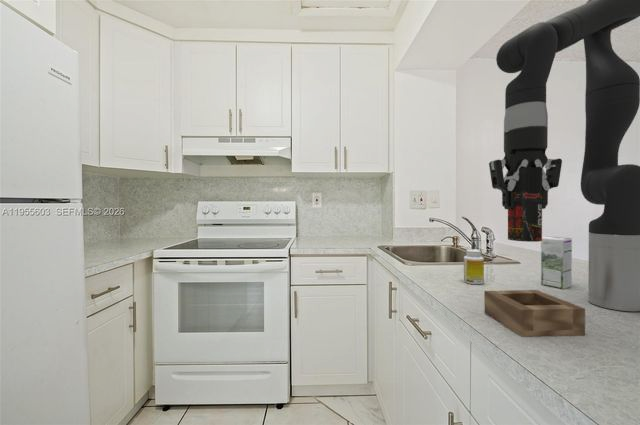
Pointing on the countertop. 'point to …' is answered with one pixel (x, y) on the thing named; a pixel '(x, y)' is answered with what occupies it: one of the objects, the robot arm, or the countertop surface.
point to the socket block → (534, 313)
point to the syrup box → (556, 262)
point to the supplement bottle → (474, 267)
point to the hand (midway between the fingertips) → (524, 208)
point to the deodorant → (526, 206)
